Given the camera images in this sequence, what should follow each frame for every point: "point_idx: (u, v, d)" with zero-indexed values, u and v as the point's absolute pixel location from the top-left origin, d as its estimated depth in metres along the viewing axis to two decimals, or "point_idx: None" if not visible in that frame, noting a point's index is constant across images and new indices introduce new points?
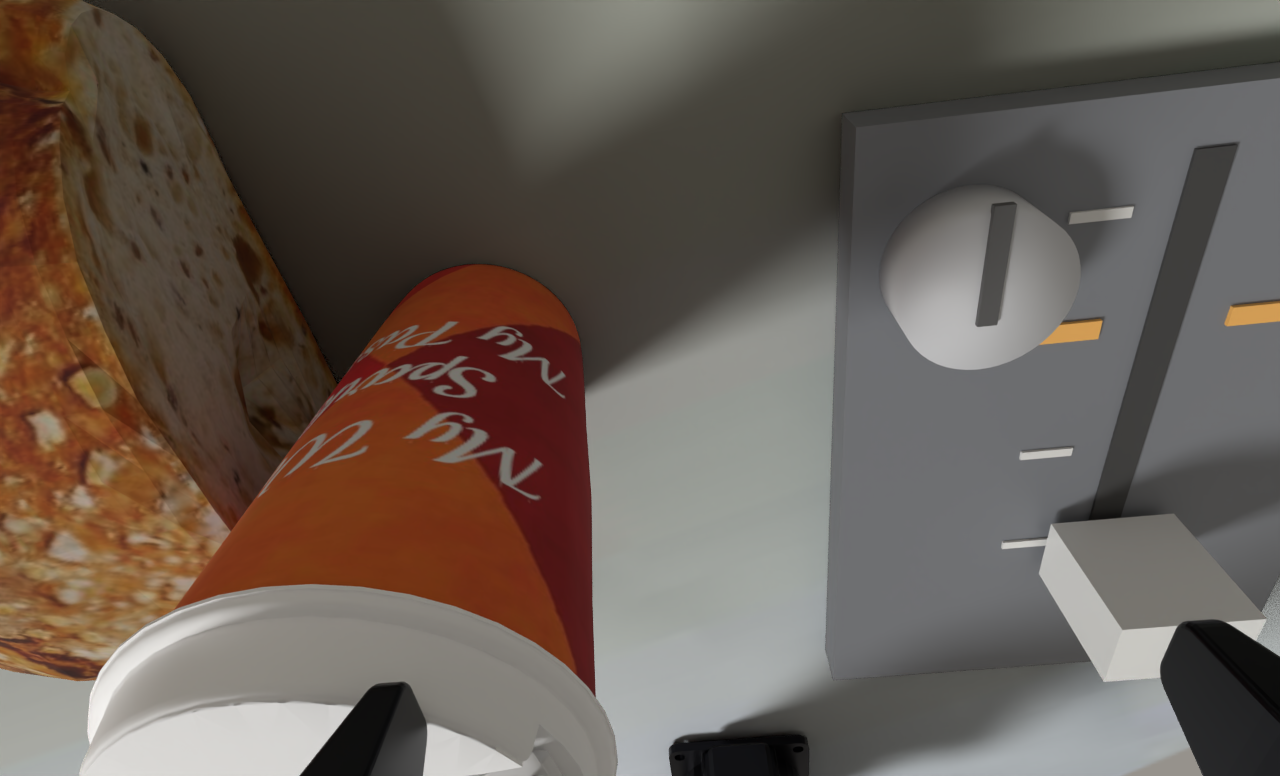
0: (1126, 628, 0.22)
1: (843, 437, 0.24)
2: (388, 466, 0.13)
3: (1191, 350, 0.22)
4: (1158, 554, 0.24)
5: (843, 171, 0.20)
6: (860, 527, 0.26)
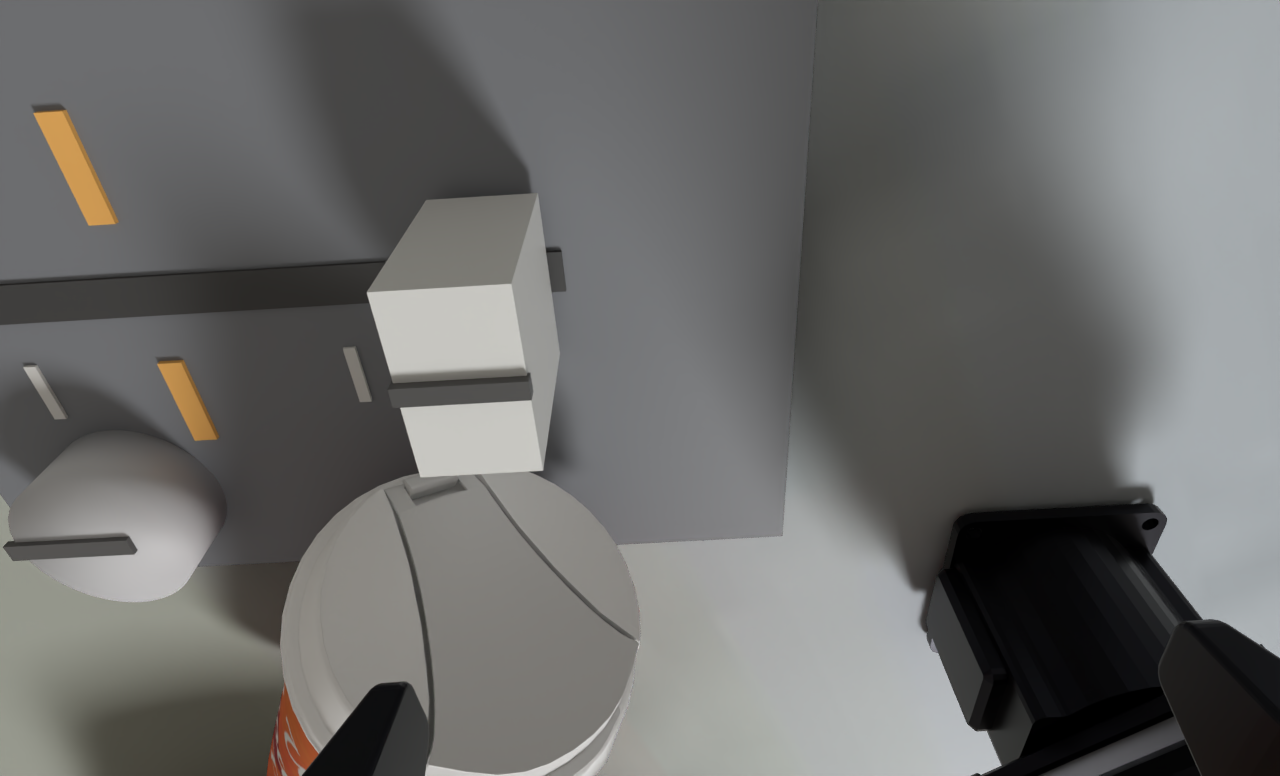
0: (419, 471, 0.14)
1: None
2: None
3: (166, 249, 0.17)
4: None
5: None
6: None
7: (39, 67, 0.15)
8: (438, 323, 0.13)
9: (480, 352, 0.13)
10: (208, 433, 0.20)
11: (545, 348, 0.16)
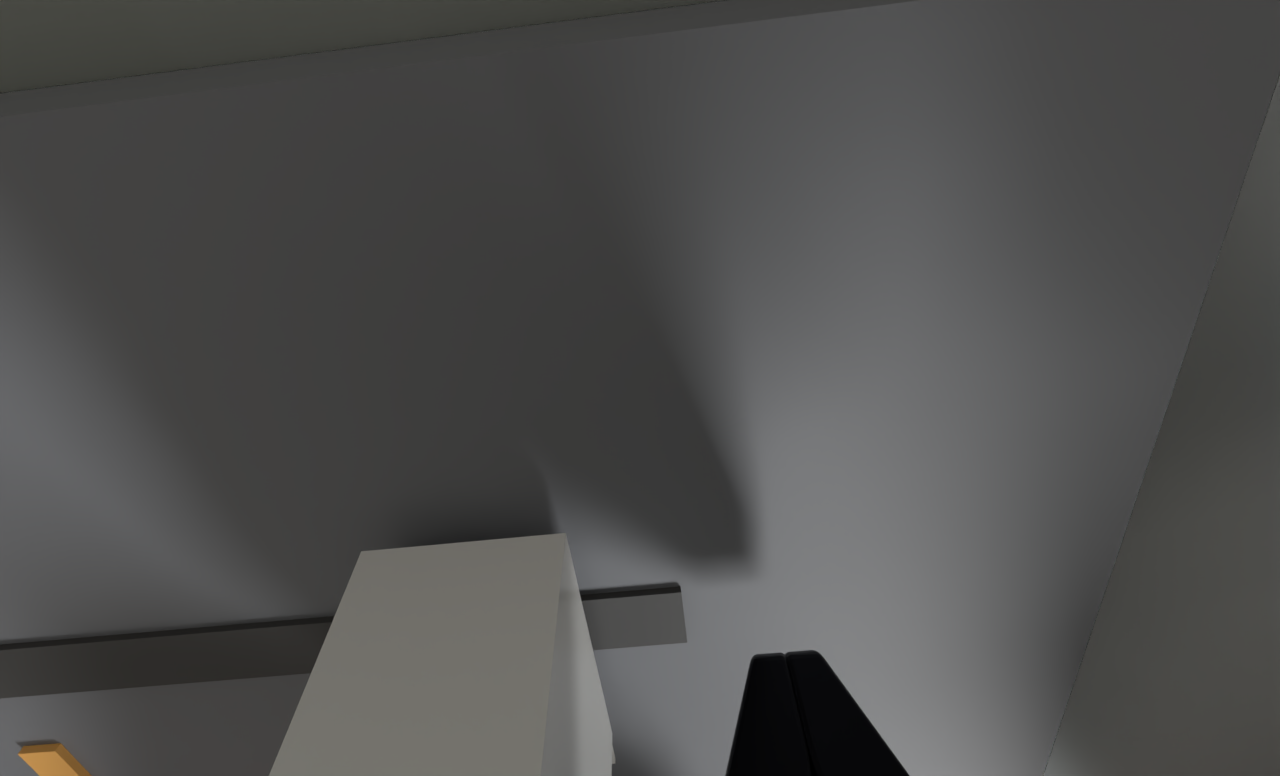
0: None
1: None
2: None
3: None
4: None
5: None
6: None
7: None
8: None
9: None
10: None
11: None
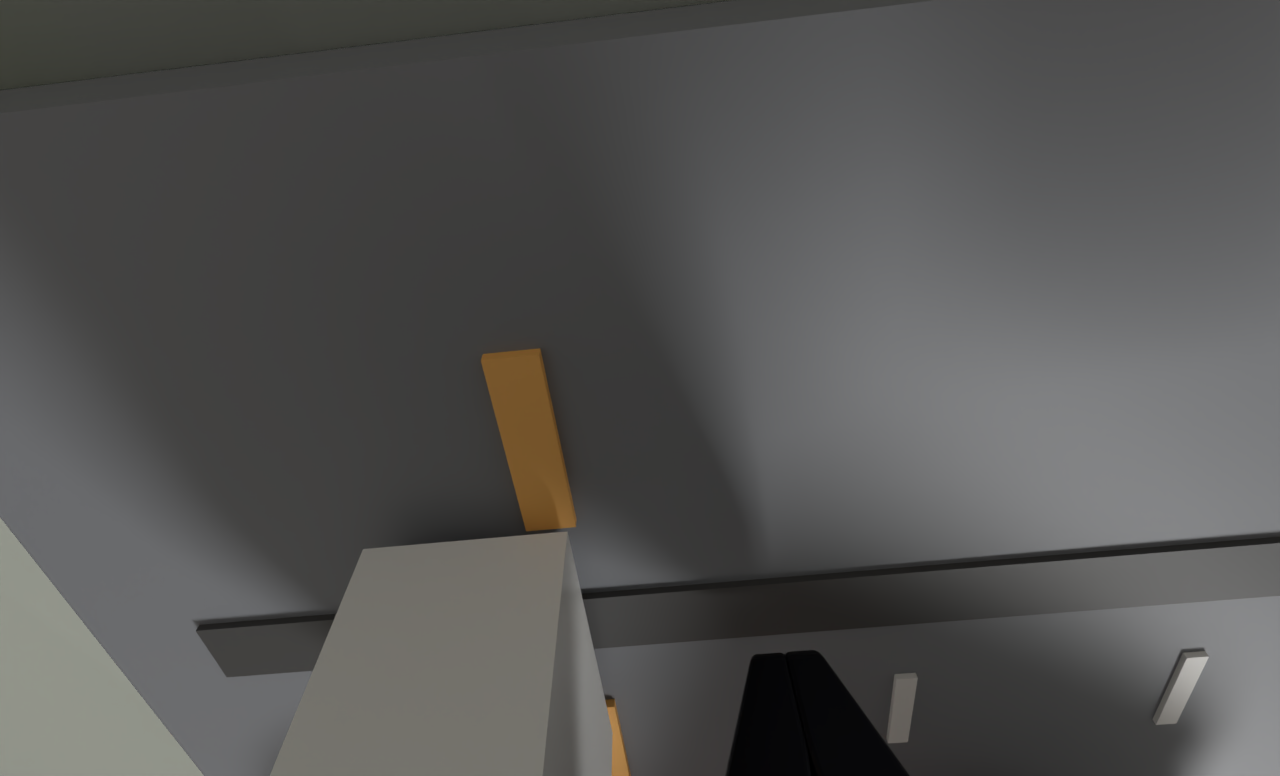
0: None
1: None
2: None
3: (647, 555, 0.09)
4: None
5: None
6: None
7: (511, 277, 0.07)
8: None
9: None
10: None
11: None
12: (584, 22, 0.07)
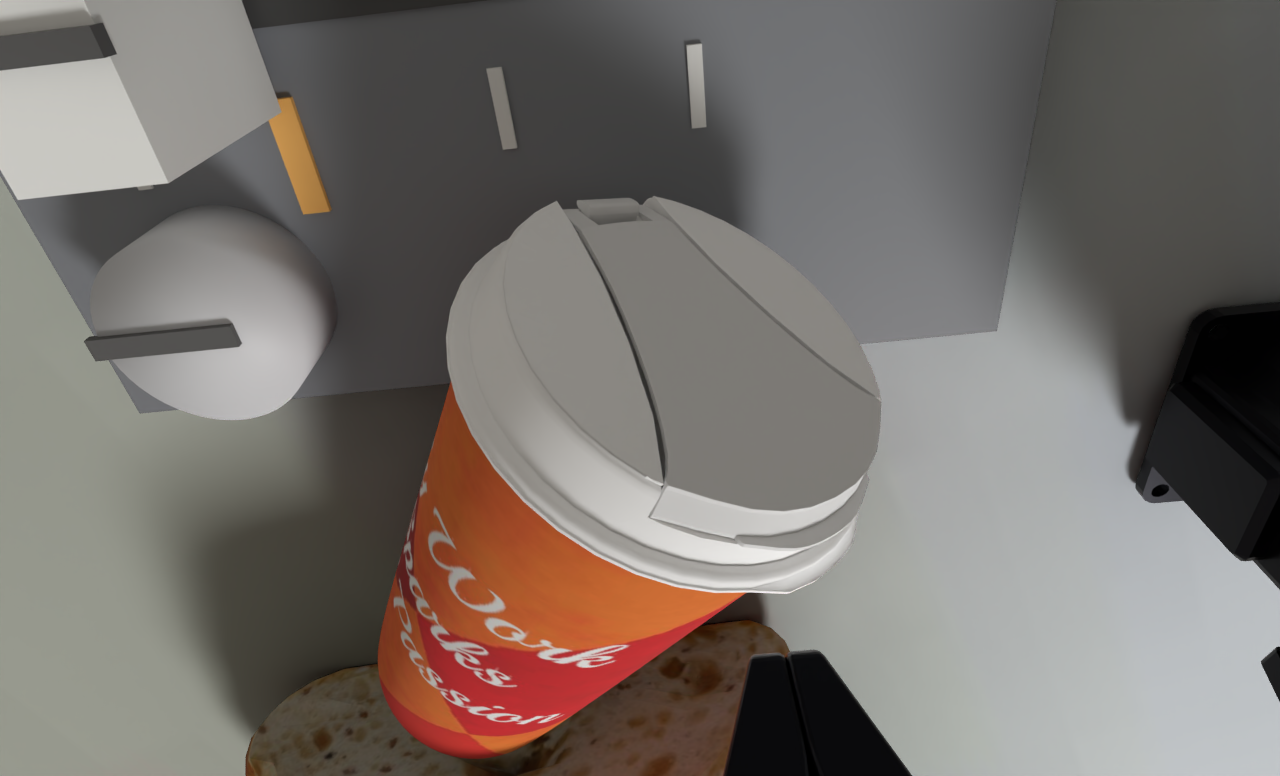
0: (14, 192, 0.11)
1: None
2: (434, 468, 0.14)
3: None
4: None
5: None
6: None
7: None
8: None
9: None
10: (319, 205, 0.16)
11: (205, 58, 0.13)
12: None
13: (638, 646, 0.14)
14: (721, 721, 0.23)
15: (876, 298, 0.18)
